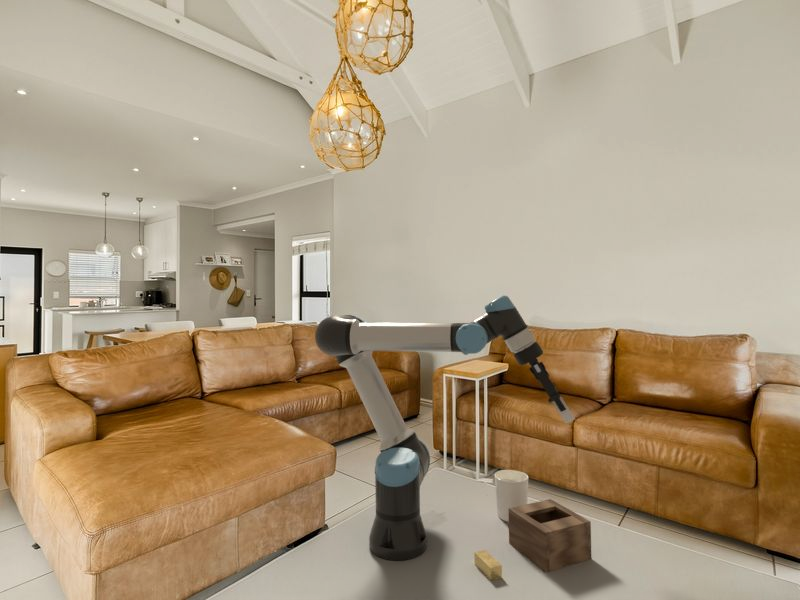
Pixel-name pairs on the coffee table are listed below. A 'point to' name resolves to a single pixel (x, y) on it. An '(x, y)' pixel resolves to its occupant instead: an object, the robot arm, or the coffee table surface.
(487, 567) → the yellow rectangular block
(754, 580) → the coffee table surface
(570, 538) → the box
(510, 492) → the candle holder
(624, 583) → the coffee table surface
